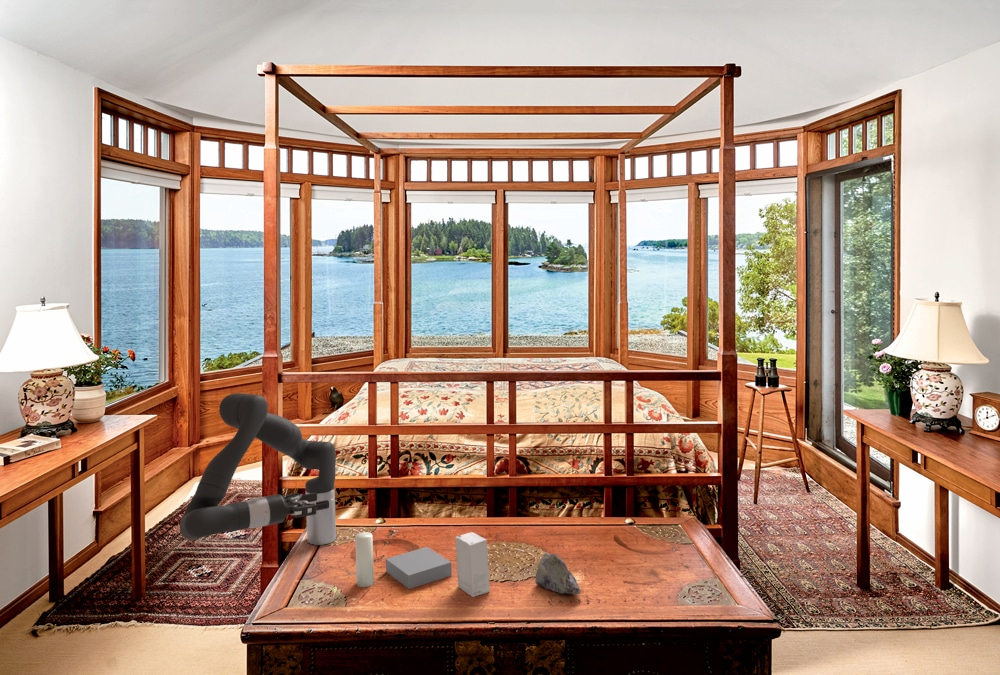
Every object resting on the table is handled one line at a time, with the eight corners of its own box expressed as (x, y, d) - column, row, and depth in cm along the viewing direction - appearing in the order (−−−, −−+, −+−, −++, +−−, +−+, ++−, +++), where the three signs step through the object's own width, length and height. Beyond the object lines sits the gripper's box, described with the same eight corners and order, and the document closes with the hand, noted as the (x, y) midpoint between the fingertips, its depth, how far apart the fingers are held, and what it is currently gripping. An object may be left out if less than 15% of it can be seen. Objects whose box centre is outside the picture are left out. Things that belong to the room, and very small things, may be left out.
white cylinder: (353, 582, 186) (352, 534, 185) (369, 577, 189) (367, 530, 188) (361, 588, 182) (359, 540, 181) (376, 583, 185) (375, 536, 184)
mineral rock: (582, 600, 174) (582, 564, 173) (543, 604, 172) (542, 567, 171) (570, 579, 187) (569, 545, 186) (533, 582, 185) (532, 547, 184)
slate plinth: (386, 571, 193) (385, 558, 192) (427, 559, 201) (427, 546, 201) (408, 589, 181) (408, 575, 181) (451, 575, 190) (451, 562, 189)
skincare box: (490, 592, 179) (489, 540, 178) (471, 598, 176) (470, 545, 174) (474, 581, 186) (473, 530, 185) (455, 586, 183) (454, 535, 181)
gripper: (272, 504, 167) (332, 492, 177) (255, 491, 178) (312, 481, 188) (273, 532, 167) (333, 520, 177) (255, 518, 178) (312, 506, 188)
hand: (322, 500), depth 182 cm, fingers open, 8 cm apart
